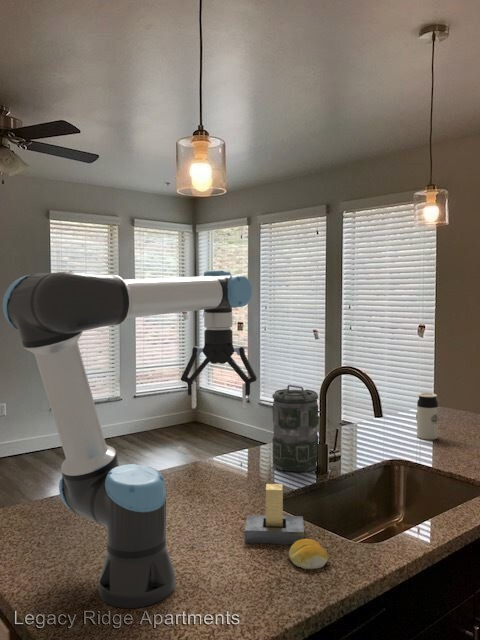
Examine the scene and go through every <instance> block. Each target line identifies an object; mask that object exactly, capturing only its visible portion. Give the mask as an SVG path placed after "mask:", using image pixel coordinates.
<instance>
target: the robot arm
mask: <svg viewBox="0 0 480 640" xmlns="http://www.w3.org/2000/svg"><path fill="white" fill-rule="evenodd" d="M252 288H253V287H252V283H251V282H250V280H249V278H248V277H247V276H245V275H243V274H232V273H231V272H230V271H229V270H207V271H206V270H205V271H204V272H203V276H175V277H161V278H160V277H159V278H156V277H155V278H140V279H139V278H136V279H123V278H122V277H121V276H119V275H116V274H108V275H107V274H106V275H105V274H90V273H82V272H73V271H72V272H71V271H57V272H43V273H42V272H37V273H30V274H28V275H23V276H21V277H19V278H17V279H16V280H14V281H13V282H12V283H11V284H10V285H9V286H8V288H7V289H6V291H5V293H4V295H3V299H2V311H3V315H4V317H5V319H6V321H7V322H8V324H9V325H10V326H11V327H12V328H14V330H17V331H18V333H19V337H20V340H21V343H22V346H23V349H25V350H27V351H28V352H30V353H32V354H34V357H35V360H36V363H37V368H38V371H39V374H40V377H41V380H42V384H43V387H44V391H45V394H46V397H47V400H48V403H49V407H50V410H51V414H52V416H53V420H54V423H55V426H56V430H57V433H58V436H59V440H60V442H61V448H62V450H63V452H64V454H63V455H64V457H65V459H64V460H63V462H62V464H61V466H60V467H61V468H60V470H61V479H59V484H58V490H59V496H60V499H61V500H62V501H61V502H62V503H63V504H64V505H65V506H66V508H67V509H69V511H72V512H73V513H74V514H75V515H77V516H79V517H83V518H85V519H86V520H89V521H92V522H94V523H96V524H98V525H100V526H102V527H104V528H105V529H106V555H105V558H104V562H103V565H102V568H101V571H100V575H99V577H98V595H99V597H100V599H101V600H102V601H103V602H104V603H106V604H108V605H110V606H113V607H117V608H121V609H122V608H123V609H136V608H143V607H149V606H150V605H154V604H156V603H159V602H161V601H162V600H165V599H166V598H167V597H169V596H170V595H171V593H173V591H174V590H175V587H176V572H175V568H174V565H173V563H172V562H173V561H172V560H171V557H170V554H169V550H168V547H167V490H166V483H165V481H166V480H165V477H164V476H163V474H162V473H161V472H160V471H159V469H156V468H154V467H151V466H148V465H146V464H145V465H144V464H141V465H138V464H136V463H129V464H123V465H120V462H119V459H118V455H117V451H116V449H115V448H114V447H112V446H110V445H108V444H107V443H106V439H105V435H104V433H103V429H102V426H101V422H100V418H99V414H98V411H97V408H96V404H95V400H94V397H93V393H92V390H91V386H90V382H89V380H88V375H87V372H86V368H85V364H84V362H83V358H82V354H81V350H80V347H79V339H80V338H81V336H82V335H83V332H84V331H90V330H94V329H99V328H103V327H105V328H106V327H109V326H110V327H111V326H118V325H121V324H123V323H125V321H126V320H127V319H131V318H132V319H133V318H141V317H151V316H159V315H167V314H168V315H169V314H175V313H177V314H179V313H184V312H194V311H203V323H204V324H203V327H204V328H206V329H204V337H203V338H204V345H203V347H200V346H199V347H198V346H196V345H195V346H193V348H192V353H191V357H190V358H189V361H188V363H187V365H186V367H185V369H184V371H183V372H182V374H181V377H180V381H181V382H185V383H186V385H187V395H188V396H191V409H196V407H197V382H194V381H195V380H196V379H197V378H198V376H199V375H200V374H201V372H202V371H203V370H204V369H205V368H206V367H207V366H208V365H209V363H210V364H213V365H215V364H221V365H224V364H226V363H227V364H228V365H229V366H230V367H231V368H232V369H233V370H234V372H235V373H236V374H237V375H238V377H240V378H241V380H242V381H243V382H242V385H241V386H242V391H241V392H242V397H241V398H242V410H246V408H247V397H249V396H250V394H251V384H252V383H255V382H256V381H257V379H258V377H257V375H256V373H255V371H254V369H253V367H252V366H251V363H250V361H249V359H248V357H247V355H246V351H245V347H244V345H241V346H239V347H234V345H233V343H234V342H233V341H234V339H233V329H232V327H233V309H236V308H242V307H245V306H247V305H248V304H250V301H251V299H252V297H253V290H252ZM201 353H202V354H203V355H204V356H205V357H206V358H205V359H204V360H203V361H202V363H201V364H200V365H199V366H198V367H197V369H196V370H195V371H194V372H193V373H192V375H191V376H190V375H189V374H190V372H191V371H192V369H193V366H194V364H195V362H196V361H197V358H198V356H200V355H201ZM234 353H236V354H237V356H239V357H240V359H241V361H242V364H243V366H244V367H245V369H246V371H247V374H248V375H249V376H248V375H247V374H246V372H244V371H243V369H242V368H241V367H240V366H239V365H238V364H237V362H236V361H235V359H234V358H233V357H232V356H233V354H234ZM189 376H190V377H189Z"/></svg>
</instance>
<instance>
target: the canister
mask: <svg viewBox="0 0 480 640" xmlns="http://www.w3.org/2000/svg"><path fill="white" fill-rule="evenodd" d="M290 387H291V388H296V389H290ZM271 397H272V398H273V399H272V400H273V403H272V423H273V436H272V445H271V446H272V465H273V466H274V468H275V469H277V468H278V469H277V470H279V469H280V471H282V470H285V471H286V470H287V471H288V472H297V473H298V472H303V473H308V472H311V470H312V471H314V470H316V469H315V468H317V467H316V462H317V444H318V443H319V435H318V425H319V404H318V399H319V395H318V393H317V392H316V391H315V390H311V389H305V390H304V387H303V386H299V385H293V384H288V385H287V386H286V388H283V389H279V390H275V392H273V394H272V396H271ZM307 471H308V472H307Z"/></svg>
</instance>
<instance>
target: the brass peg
mask: <svg viewBox="0 0 480 640" xmlns="http://www.w3.org/2000/svg"><path fill="white" fill-rule="evenodd" d="M283 492H284V491H283V484H280V483H266V485H265V515H266V528H283V516H284V514H283V513H284V505H283V503H284V502H283V499H284V498H283V496H284V495H283V494H284V493H283Z"/></svg>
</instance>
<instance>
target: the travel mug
mask: <svg viewBox="0 0 480 640" xmlns="http://www.w3.org/2000/svg"><path fill="white" fill-rule="evenodd" d="M417 395H418V400H417V401H416V402H417V403H416V405H417V408H416V409H417V410H416V411H417V412H416V413H417V415H416V416H417V417H416V419H417V421H416V437H418V439H421V440H426V441H428V440H429V441H434V440H436V439H438V437H439V436H438V435H439V433H438V430H439V429H438V425H439V424H438V423H439V421H438V418H439V416H438V413H439V410H438V409H439V407H438V405H439V402H438V401H437V397H438V394H435V393H433V392H432V393H431V392H421V393H417Z"/></svg>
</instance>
